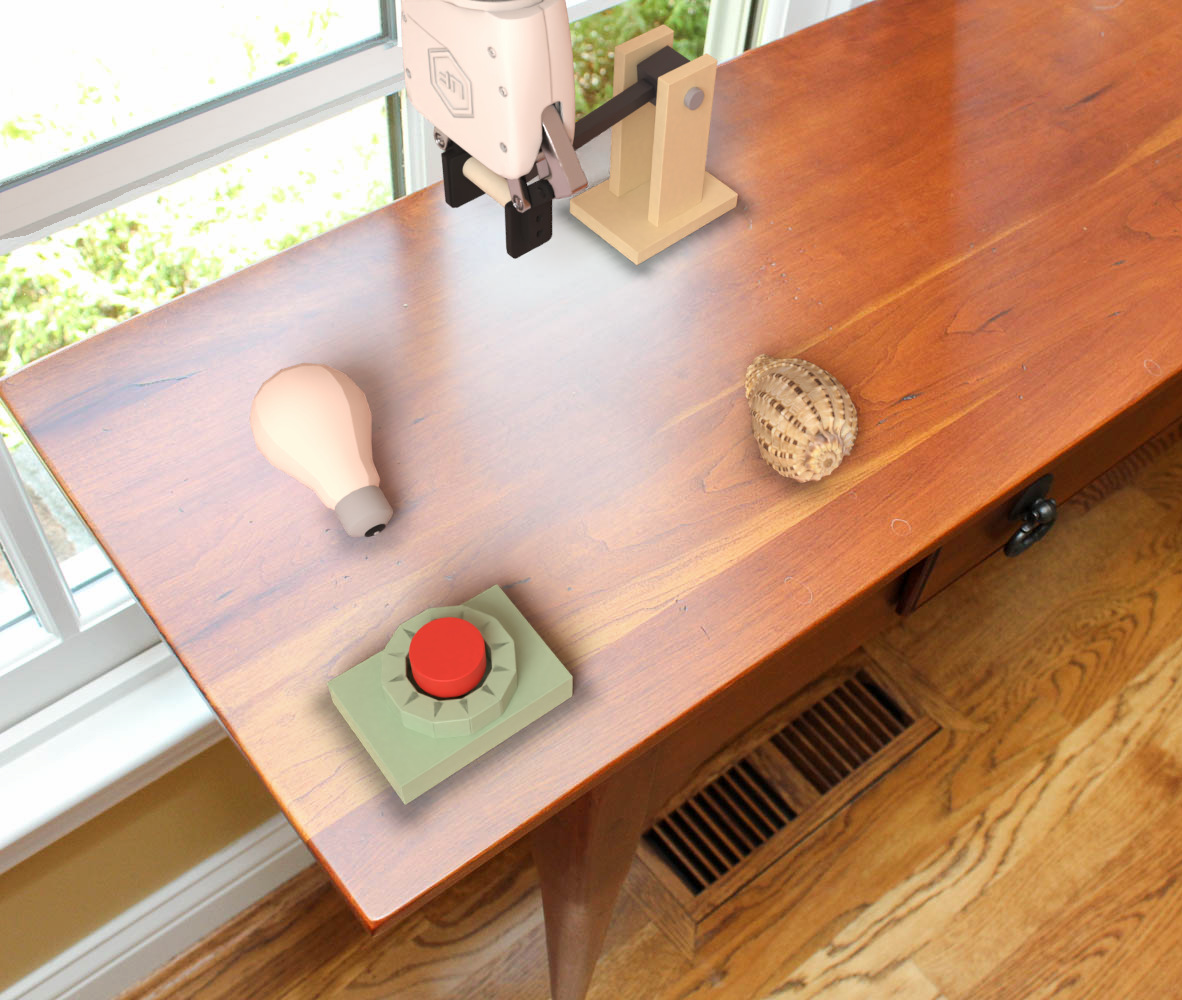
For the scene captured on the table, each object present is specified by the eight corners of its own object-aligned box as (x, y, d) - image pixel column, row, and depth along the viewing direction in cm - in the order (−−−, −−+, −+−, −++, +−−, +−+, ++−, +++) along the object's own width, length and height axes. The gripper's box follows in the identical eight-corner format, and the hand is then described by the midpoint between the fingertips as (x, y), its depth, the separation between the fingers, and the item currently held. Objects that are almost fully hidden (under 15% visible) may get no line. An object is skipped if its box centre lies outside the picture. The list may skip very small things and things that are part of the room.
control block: (405, 805, 60) (396, 771, 57) (332, 702, 63) (320, 664, 60) (572, 696, 65) (573, 659, 62) (498, 604, 67) (495, 564, 64)
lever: (518, 229, 74) (512, 200, 72) (465, 186, 76) (459, 157, 74) (706, 101, 80) (706, 71, 78) (654, 64, 82) (652, 34, 80)
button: (437, 711, 59) (434, 694, 58) (398, 658, 61) (394, 641, 59) (500, 672, 61) (499, 655, 60) (461, 622, 62) (458, 604, 61)
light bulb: (422, 487, 66) (325, 323, 68) (308, 548, 64) (212, 378, 66) (437, 520, 72) (348, 370, 74) (334, 577, 70) (246, 421, 72)
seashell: (708, 452, 79) (805, 509, 72) (693, 370, 76) (792, 421, 69) (801, 405, 83) (902, 455, 76) (789, 325, 79) (894, 369, 72)
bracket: (636, 265, 85) (647, 109, 75) (569, 212, 87) (570, 54, 77) (736, 206, 90) (758, 52, 80) (670, 158, 92) (683, 2, 82)
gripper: (321, -110, 63) (364, 175, 77) (540, 50, 57) (542, 325, 72) (440, -147, 67) (460, 131, 81) (656, -1, 61) (636, 270, 75)
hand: (498, 219), depth 76 cm, fingers closed on lever, 5 cm apart
